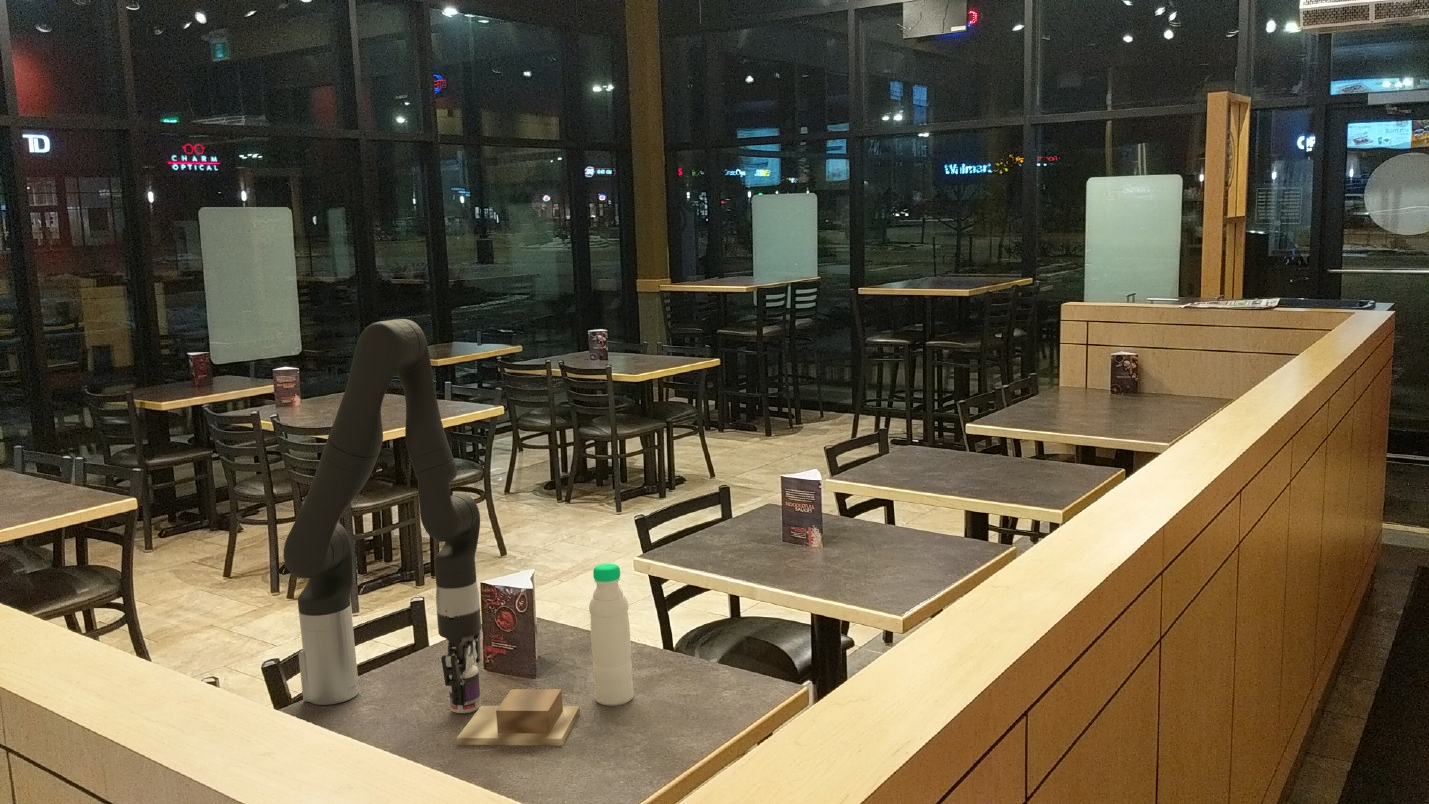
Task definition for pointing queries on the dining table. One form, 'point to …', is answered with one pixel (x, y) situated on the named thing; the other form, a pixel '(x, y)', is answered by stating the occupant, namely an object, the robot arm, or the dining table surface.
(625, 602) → the water bottle
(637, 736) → the dining table surface
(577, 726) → the dining table surface
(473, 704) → the pill bottle
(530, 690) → the walnut block
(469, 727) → the beech board
